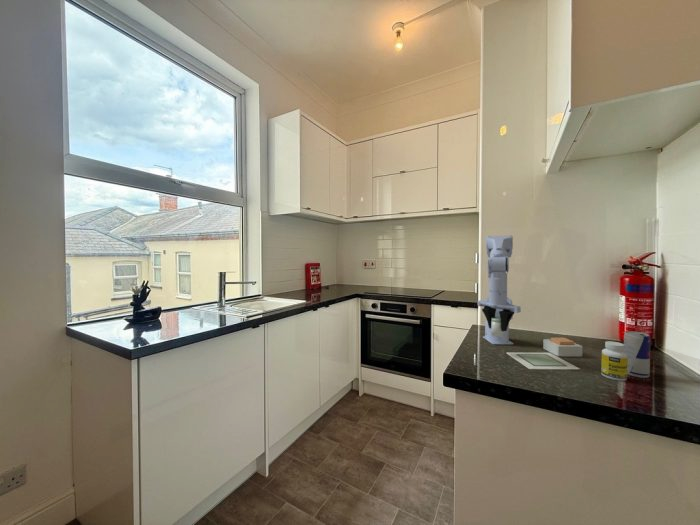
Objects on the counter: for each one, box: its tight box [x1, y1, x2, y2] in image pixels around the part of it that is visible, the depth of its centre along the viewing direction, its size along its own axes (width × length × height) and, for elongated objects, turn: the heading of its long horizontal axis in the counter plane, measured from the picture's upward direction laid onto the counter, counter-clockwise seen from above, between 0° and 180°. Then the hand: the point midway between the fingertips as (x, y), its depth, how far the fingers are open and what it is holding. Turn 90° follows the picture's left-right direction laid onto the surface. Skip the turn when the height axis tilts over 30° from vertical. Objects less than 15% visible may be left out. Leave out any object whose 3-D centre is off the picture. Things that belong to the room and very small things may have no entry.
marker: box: [491, 317, 504, 337], centre depth 99 cm, size 4×4×6 cm
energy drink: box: [623, 330, 651, 379], centre depth 81 cm, size 5×5×12 cm
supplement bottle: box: [600, 340, 628, 382], centre depth 80 cm, size 5×5×10 cm
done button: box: [550, 337, 575, 345], centre depth 100 cm, size 5×5×2 cm
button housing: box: [542, 338, 584, 358], centre depth 100 cm, size 8×8×4 cm
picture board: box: [505, 352, 581, 371], centre depth 93 cm, size 14×15×1 cm
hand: (497, 329), depth 99 cm, fingers closed on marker, 4 cm apart
